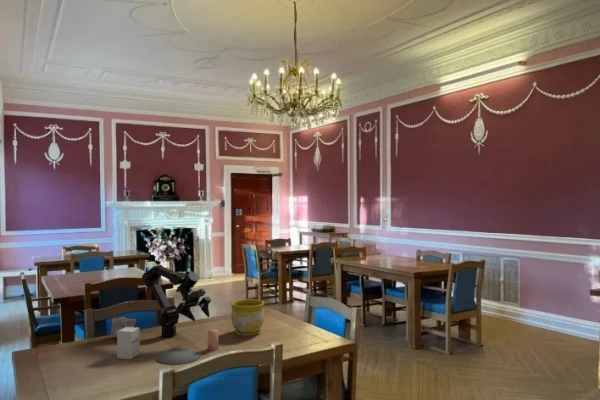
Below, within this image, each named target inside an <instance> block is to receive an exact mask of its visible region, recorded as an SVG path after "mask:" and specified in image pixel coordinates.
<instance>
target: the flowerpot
mask: <svg viewBox="0 0 600 400" xmlns="http://www.w3.org/2000/svg"><path fill="white" fill-rule="evenodd" d="M230 305H231V324H232V326H233V328H234V332H235V333H236V334H237V336H243V337H250V336H251V337H252V336H256V335H258V334H260V332H261V331H262V329H261V328H262V327H263V324H264V322H265V310H264V309H265V306H264V305H265V301H264V300H261V299H257V298H255V299H254V298H253V299H252V298H246V299H238V300H237V299H236V300H234V301H232V302H230Z"/></svg>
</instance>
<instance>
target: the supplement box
mask: <svg viewBox="0 0 600 400" xmlns="http://www.w3.org/2000/svg"><path fill="white" fill-rule="evenodd" d="M140 328H141V327H137V326H136V327H135V326H134V327H125V328H123V329H121V330H119V331H117V338H116V342H117V347H116V349H117V350H116V351H117V356H116V359H125V360H131V359H133V358H135V357H137V356H138V355H140V348H141V347H140V338H141V337H140V331H141V330H140Z"/></svg>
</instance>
